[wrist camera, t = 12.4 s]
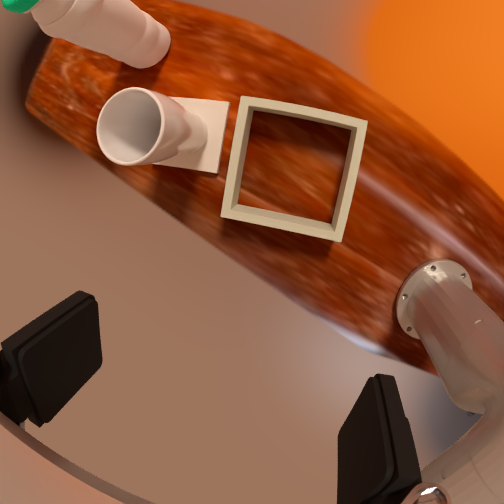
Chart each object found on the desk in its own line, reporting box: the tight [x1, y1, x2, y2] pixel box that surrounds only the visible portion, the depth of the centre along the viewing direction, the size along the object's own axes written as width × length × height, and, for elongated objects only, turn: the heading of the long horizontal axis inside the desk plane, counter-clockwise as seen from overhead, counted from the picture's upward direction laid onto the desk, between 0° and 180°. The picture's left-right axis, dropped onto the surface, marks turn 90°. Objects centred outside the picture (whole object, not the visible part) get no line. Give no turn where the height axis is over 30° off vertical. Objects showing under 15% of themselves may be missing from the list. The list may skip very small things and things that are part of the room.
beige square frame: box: [221, 96, 368, 242], centre depth 35 cm, size 14×14×4 cm
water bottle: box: [2, 0, 170, 68], centre depth 22 cm, size 7×7×25 cm
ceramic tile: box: [152, 97, 230, 173], centre depth 36 cm, size 9×9×1 cm
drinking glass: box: [97, 87, 208, 166], centre depth 29 cm, size 7×7×15 cm
